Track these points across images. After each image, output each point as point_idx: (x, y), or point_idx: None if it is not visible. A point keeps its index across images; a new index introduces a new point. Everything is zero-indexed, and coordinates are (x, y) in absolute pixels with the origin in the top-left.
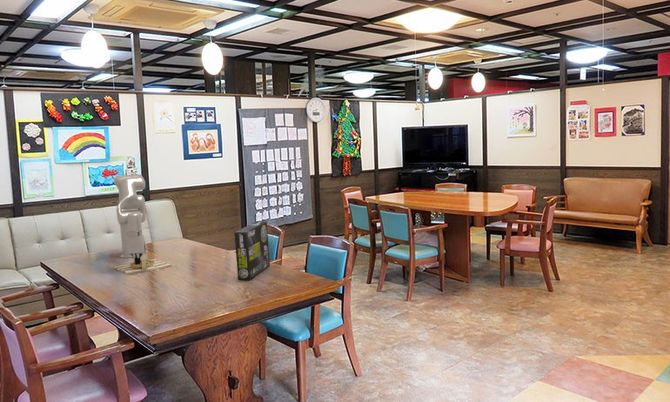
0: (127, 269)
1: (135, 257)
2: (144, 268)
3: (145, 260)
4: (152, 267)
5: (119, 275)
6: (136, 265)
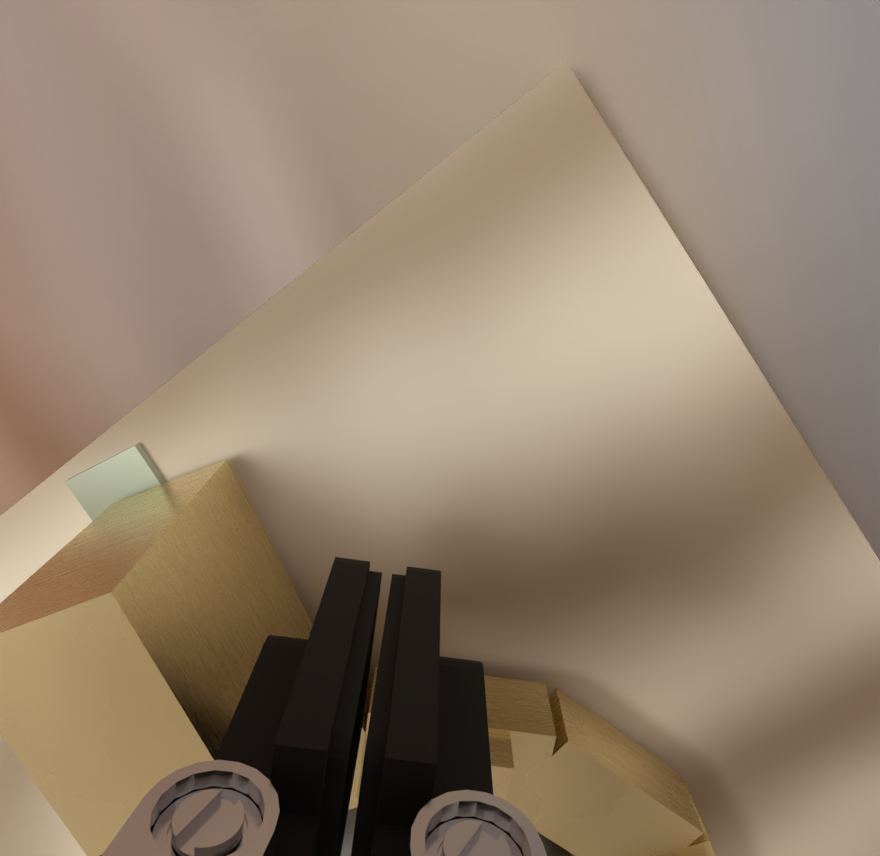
0: (721, 601)
1: (412, 840)
2: (163, 487)
3: (14, 744)
4: None
5: (858, 114)
6: None
